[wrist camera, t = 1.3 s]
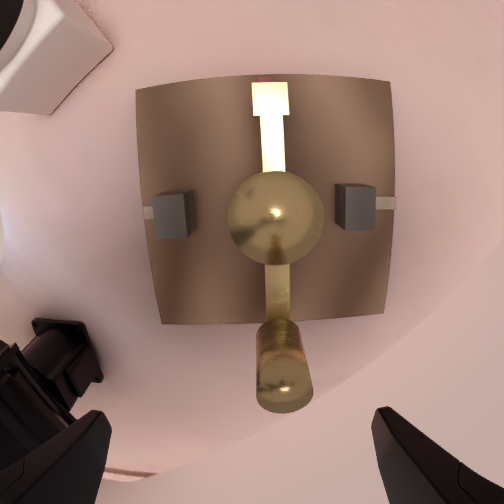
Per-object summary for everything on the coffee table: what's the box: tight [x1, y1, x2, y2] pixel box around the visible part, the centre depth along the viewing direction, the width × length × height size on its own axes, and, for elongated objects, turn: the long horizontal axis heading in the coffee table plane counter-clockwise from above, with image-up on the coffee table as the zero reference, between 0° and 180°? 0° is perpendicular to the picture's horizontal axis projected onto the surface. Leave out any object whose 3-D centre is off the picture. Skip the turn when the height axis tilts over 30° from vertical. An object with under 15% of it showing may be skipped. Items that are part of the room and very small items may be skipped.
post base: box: [136, 74, 396, 324], centre depth 17 cm, size 16×16×4 cm
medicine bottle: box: [0, 0, 113, 115], centre depth 10 cm, size 7×7×12 cm
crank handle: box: [228, 82, 324, 413], centre depth 13 cm, size 4×14×6 cm, turn 3°
